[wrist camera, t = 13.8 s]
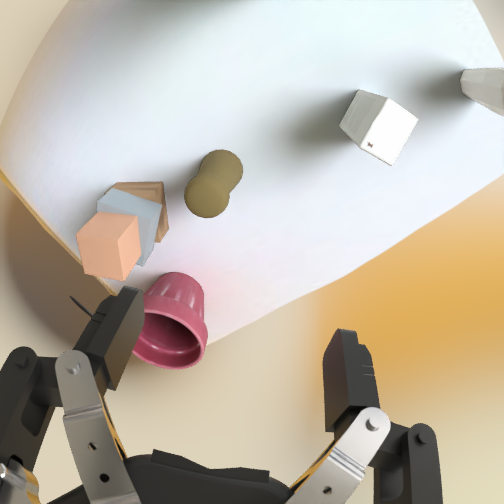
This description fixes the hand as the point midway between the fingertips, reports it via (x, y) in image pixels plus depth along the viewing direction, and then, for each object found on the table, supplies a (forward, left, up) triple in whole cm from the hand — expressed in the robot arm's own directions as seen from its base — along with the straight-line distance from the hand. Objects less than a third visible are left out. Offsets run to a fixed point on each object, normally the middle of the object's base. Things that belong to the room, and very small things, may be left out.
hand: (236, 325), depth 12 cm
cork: (+6, -6, -33) cm, 34 cm away
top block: (+14, -18, -29) cm, 37 cm away
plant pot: (+30, -11, -33) cm, 46 cm away
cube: (+14, -18, -24) cm, 33 cm away
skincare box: (-6, +11, -33) cm, 36 cm away
